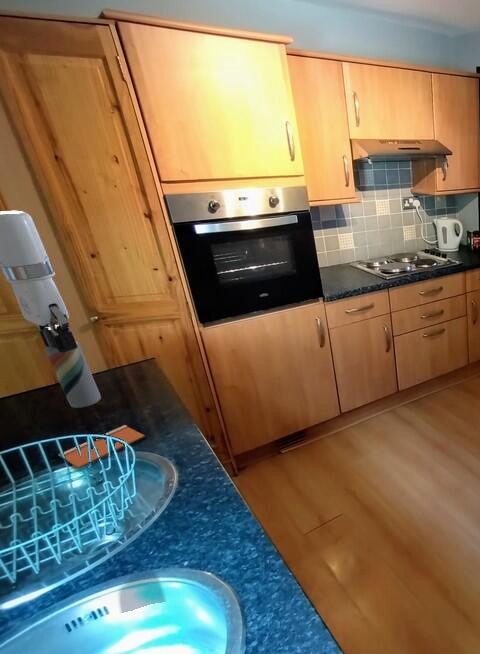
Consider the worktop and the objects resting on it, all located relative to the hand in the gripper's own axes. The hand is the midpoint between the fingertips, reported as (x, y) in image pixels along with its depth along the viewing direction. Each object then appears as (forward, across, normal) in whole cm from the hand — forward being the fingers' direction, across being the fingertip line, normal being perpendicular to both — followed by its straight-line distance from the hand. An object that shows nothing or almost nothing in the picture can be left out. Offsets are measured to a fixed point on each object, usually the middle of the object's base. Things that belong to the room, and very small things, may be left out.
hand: (61, 346), depth 104 cm
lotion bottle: (+15, 0, 0) cm, 15 cm away
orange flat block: (+27, +1, -1) cm, 27 cm away
